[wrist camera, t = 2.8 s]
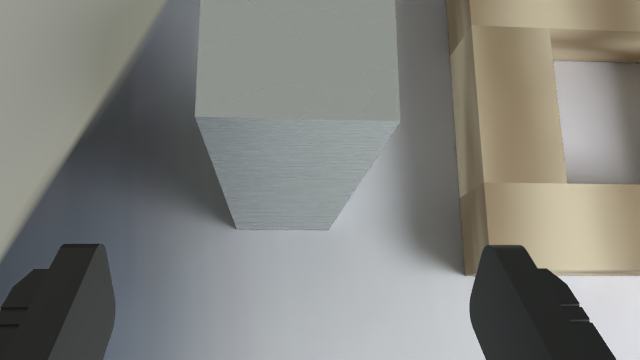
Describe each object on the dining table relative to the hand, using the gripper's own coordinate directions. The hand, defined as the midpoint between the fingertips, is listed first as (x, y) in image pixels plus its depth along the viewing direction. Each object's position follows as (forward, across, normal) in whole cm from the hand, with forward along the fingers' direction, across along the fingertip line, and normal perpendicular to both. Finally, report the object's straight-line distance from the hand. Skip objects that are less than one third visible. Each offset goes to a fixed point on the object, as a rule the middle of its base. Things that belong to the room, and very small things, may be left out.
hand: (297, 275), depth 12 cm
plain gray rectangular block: (+12, 0, +5) cm, 13 cm away
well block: (+14, -15, +3) cm, 21 cm away
